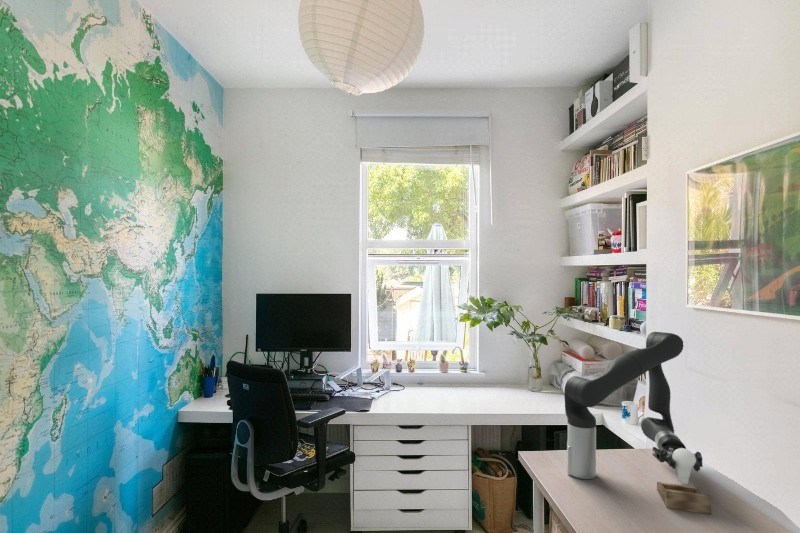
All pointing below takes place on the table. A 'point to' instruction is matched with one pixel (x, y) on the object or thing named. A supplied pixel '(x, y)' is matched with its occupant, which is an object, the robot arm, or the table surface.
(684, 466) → the lightbulb
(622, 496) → the table surface
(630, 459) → the table surface
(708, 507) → the cradle
